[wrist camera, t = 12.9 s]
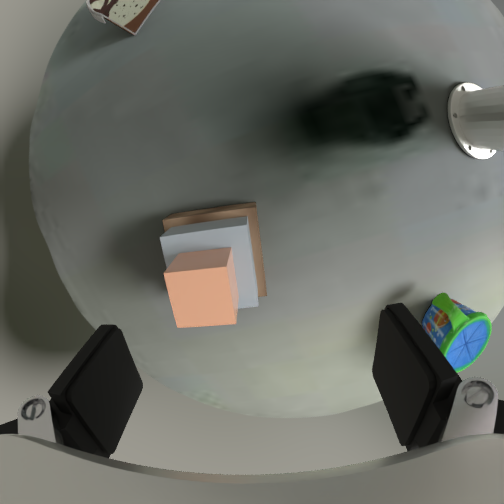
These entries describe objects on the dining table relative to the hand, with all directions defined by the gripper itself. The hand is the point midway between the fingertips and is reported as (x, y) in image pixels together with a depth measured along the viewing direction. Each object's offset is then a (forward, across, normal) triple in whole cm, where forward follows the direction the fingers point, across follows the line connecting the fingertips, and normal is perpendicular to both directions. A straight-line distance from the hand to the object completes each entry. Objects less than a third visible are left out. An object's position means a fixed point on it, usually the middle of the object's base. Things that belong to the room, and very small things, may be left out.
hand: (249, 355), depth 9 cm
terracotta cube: (+20, +6, +5) cm, 21 cm away
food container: (+28, +14, -33) cm, 46 cm away
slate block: (+24, +6, +5) cm, 25 cm away
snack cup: (+29, -29, +21) cm, 46 cm away
